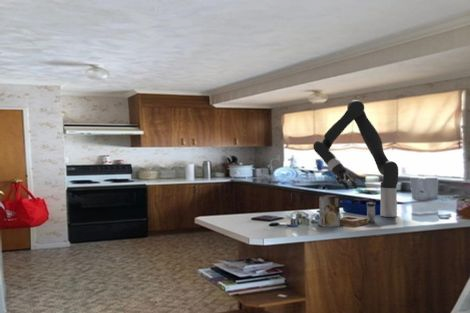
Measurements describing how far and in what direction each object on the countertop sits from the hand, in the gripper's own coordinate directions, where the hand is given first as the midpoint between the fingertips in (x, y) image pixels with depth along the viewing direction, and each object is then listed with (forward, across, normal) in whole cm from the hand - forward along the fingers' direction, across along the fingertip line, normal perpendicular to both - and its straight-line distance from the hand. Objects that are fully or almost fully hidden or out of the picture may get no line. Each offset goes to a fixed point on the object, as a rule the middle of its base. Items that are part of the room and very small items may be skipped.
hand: (352, 188), depth 263 cm
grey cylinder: (+21, 0, +5) cm, 22 cm away
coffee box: (+15, -25, +12) cm, 31 cm away
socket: (+17, -12, +9) cm, 23 cm away
